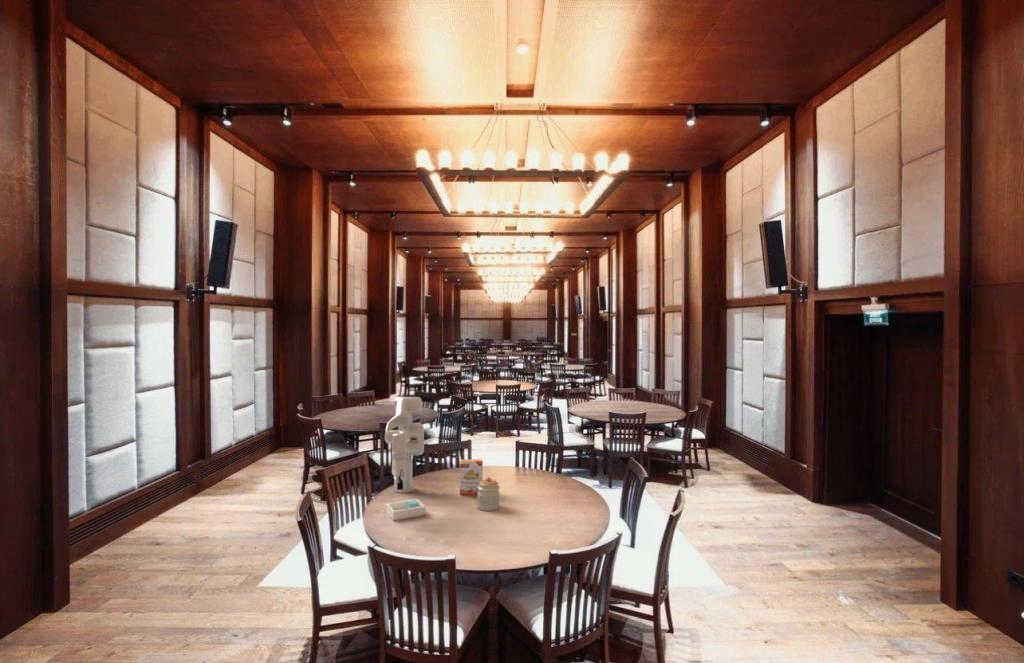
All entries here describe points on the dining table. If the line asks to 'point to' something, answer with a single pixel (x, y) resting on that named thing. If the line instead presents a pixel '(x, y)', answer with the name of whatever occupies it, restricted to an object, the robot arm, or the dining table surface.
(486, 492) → the jar
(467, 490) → the cracker box
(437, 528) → the dining table surface
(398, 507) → the tote
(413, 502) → the teal cube
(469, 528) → the dining table surface
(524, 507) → the dining table surface
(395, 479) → the steel cylinder
